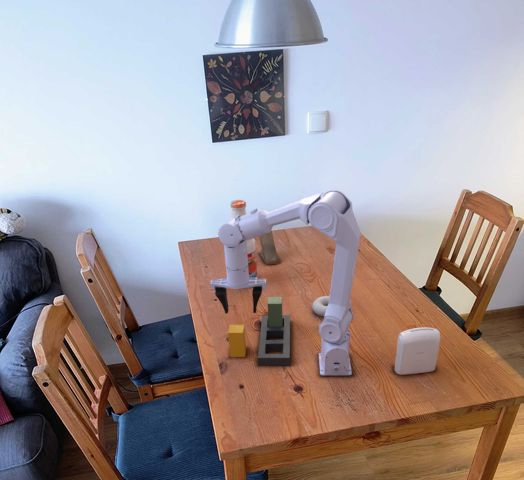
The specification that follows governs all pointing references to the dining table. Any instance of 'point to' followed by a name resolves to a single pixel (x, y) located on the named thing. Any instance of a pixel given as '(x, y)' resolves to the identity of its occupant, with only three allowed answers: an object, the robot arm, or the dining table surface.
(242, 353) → the mustard peg
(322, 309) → the donut
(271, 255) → the worn brown figurine
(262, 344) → the peg stand
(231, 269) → the robot arm
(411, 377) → the dining table surface
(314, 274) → the dining table surface
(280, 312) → the green peg
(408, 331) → the photo printer
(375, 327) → the dining table surface
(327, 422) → the dining table surface
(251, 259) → the fruit juice
